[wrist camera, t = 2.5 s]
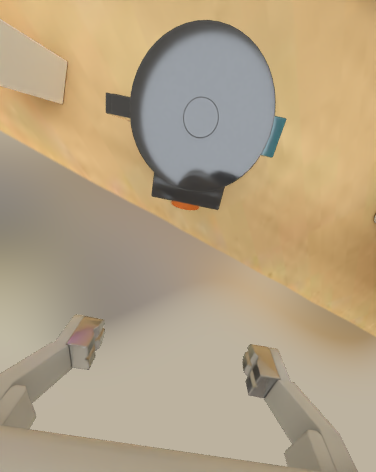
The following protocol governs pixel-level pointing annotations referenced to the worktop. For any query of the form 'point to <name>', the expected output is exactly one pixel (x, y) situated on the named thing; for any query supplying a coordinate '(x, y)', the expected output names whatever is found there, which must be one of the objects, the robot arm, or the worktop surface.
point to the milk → (30, 66)
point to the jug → (201, 111)
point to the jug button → (185, 205)
